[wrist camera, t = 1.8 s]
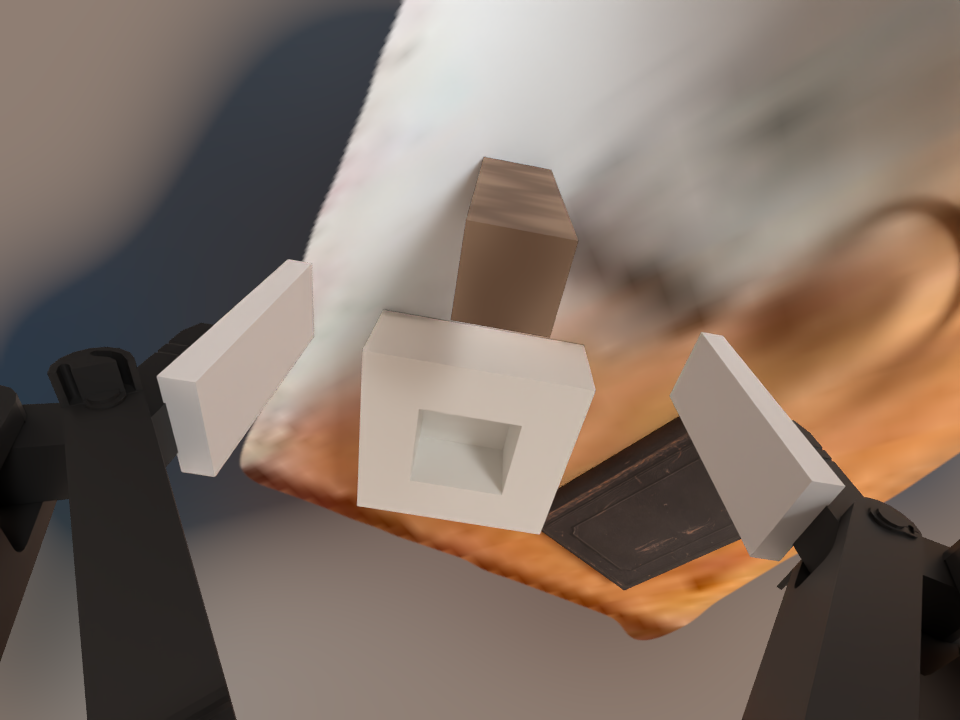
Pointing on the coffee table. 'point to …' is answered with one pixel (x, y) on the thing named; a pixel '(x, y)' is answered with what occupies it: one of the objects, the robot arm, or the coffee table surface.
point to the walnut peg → (514, 250)
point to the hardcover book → (642, 510)
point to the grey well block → (467, 421)
